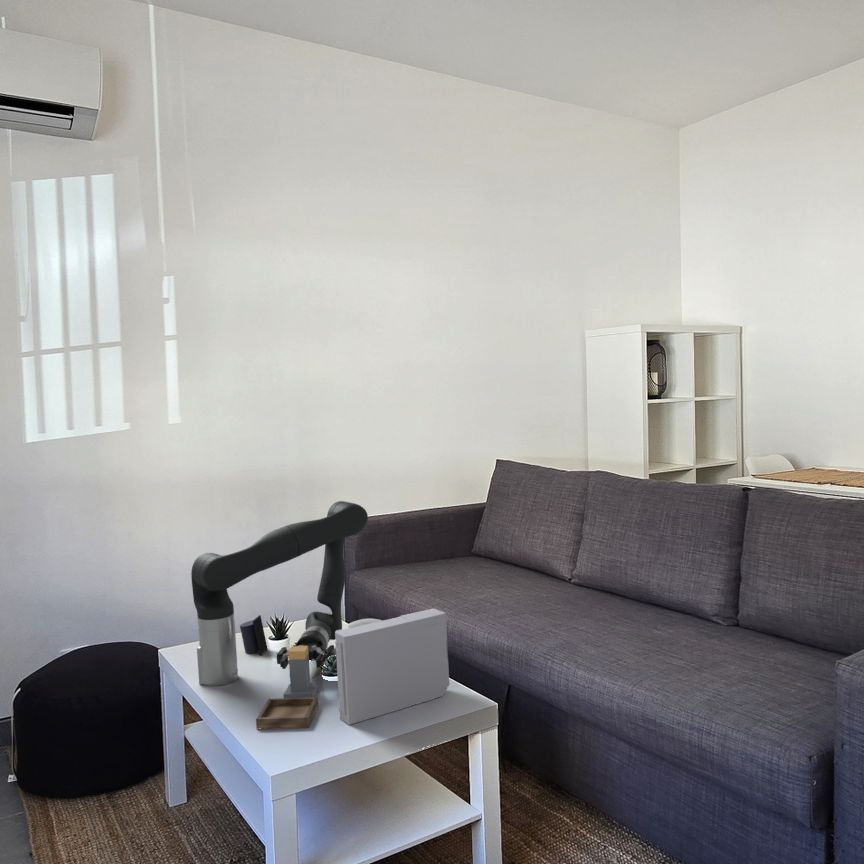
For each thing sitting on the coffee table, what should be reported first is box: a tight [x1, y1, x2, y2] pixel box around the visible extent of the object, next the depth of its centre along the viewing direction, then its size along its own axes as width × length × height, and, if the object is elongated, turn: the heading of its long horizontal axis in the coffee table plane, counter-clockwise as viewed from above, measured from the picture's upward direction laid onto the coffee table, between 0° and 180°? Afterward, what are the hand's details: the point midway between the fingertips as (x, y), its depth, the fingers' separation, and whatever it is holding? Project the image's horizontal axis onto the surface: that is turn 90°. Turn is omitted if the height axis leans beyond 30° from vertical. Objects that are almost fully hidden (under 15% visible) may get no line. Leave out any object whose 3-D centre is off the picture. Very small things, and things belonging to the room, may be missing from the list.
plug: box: [283, 645, 319, 698], centre depth 194 cm, size 7×7×12 cm
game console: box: [334, 608, 450, 726], centre depth 184 cm, size 6×27×20 cm, turn 123°
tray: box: [255, 696, 319, 730], centre depth 180 cm, size 12×12×2 cm
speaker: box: [239, 615, 268, 657], centre depth 230 cm, size 8×6×10 cm
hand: (300, 664), depth 195 cm, fingers open, 8 cm apart
